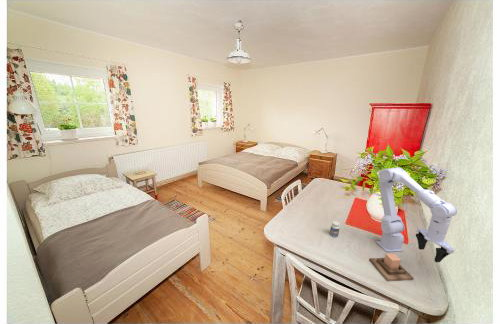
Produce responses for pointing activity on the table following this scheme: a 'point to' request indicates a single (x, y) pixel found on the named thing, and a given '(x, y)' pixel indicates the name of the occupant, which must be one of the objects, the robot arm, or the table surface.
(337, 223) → the pill bottle
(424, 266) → the table surface
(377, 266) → the display stand
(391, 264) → the terracotta block
